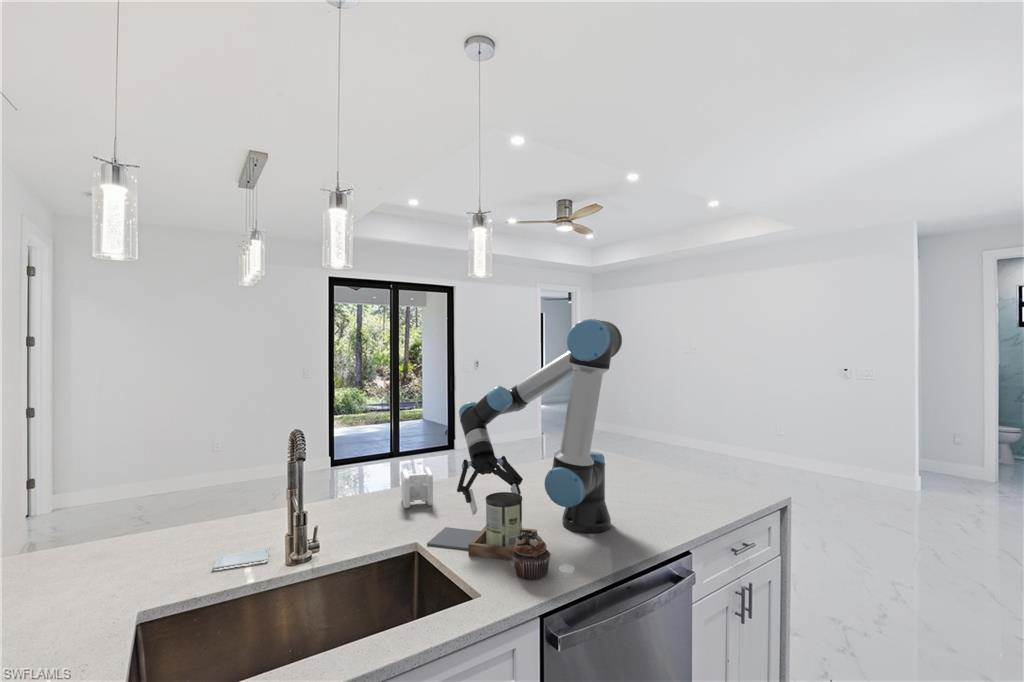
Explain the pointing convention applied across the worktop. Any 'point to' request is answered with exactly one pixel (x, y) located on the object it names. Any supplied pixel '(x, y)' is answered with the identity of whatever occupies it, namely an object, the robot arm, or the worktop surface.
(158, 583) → the worktop surface
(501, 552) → the walnut collar
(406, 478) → the cable organizer
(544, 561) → the cupcake
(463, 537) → the rubber pad
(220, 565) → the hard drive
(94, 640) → the worktop surface
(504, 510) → the coffee can
